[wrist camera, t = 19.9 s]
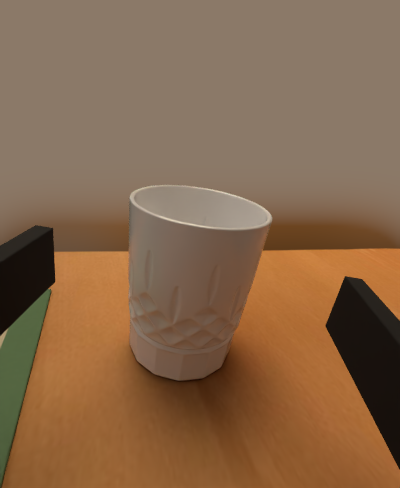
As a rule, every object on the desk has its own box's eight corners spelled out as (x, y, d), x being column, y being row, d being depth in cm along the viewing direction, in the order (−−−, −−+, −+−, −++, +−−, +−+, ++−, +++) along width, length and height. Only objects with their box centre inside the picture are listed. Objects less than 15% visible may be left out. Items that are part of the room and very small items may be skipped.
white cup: (188, 297, 26) (206, 183, 22) (259, 355, 20) (300, 219, 17) (100, 328, 20) (103, 186, 17) (165, 416, 15) (193, 239, 11)
